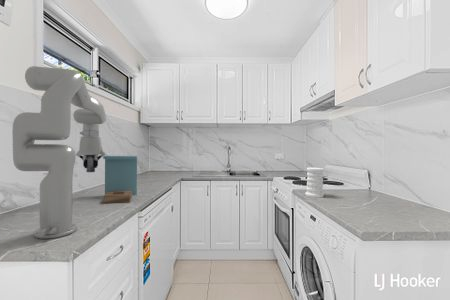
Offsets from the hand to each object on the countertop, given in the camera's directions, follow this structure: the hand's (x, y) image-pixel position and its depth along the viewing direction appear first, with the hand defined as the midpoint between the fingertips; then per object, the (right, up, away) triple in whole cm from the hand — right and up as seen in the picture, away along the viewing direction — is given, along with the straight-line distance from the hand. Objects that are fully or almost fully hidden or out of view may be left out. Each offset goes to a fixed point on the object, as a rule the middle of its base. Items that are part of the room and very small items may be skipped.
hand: (90, 167), depth 128 cm
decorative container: (+133, -21, +28) cm, 137 cm away
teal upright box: (+10, -19, +15) cm, 26 cm away
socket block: (+13, -19, +5) cm, 23 cm away
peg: (0, -2, 0) cm, 2 cm away
